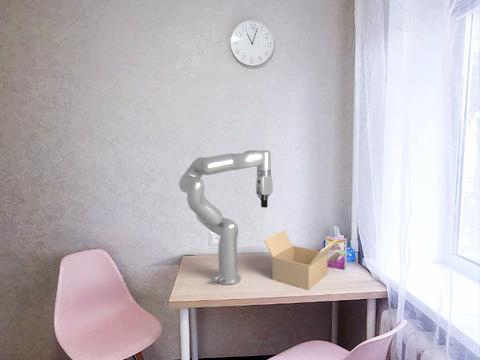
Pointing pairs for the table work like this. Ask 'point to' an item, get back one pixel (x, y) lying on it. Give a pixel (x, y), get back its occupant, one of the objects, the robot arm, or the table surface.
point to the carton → (299, 267)
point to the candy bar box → (336, 252)
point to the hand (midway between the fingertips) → (264, 207)
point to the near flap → (323, 252)
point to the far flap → (278, 243)
